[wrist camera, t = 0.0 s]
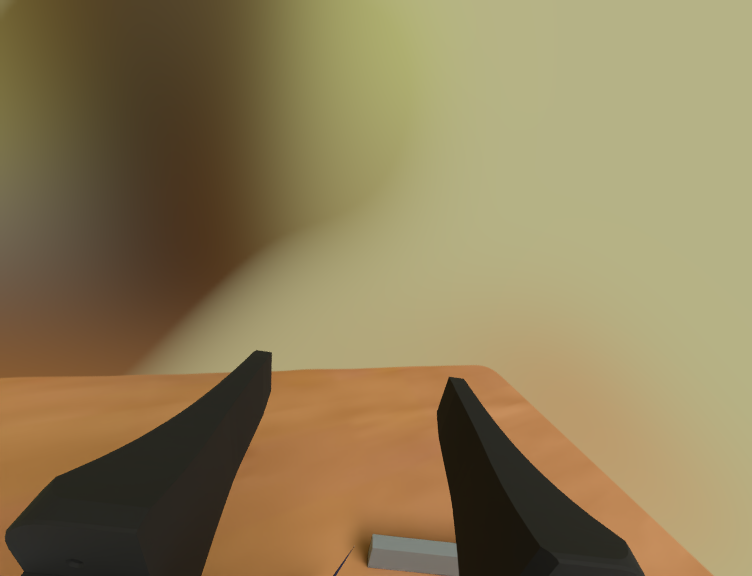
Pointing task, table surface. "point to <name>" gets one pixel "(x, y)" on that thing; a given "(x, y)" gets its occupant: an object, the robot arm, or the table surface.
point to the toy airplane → (341, 565)
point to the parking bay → (413, 555)
